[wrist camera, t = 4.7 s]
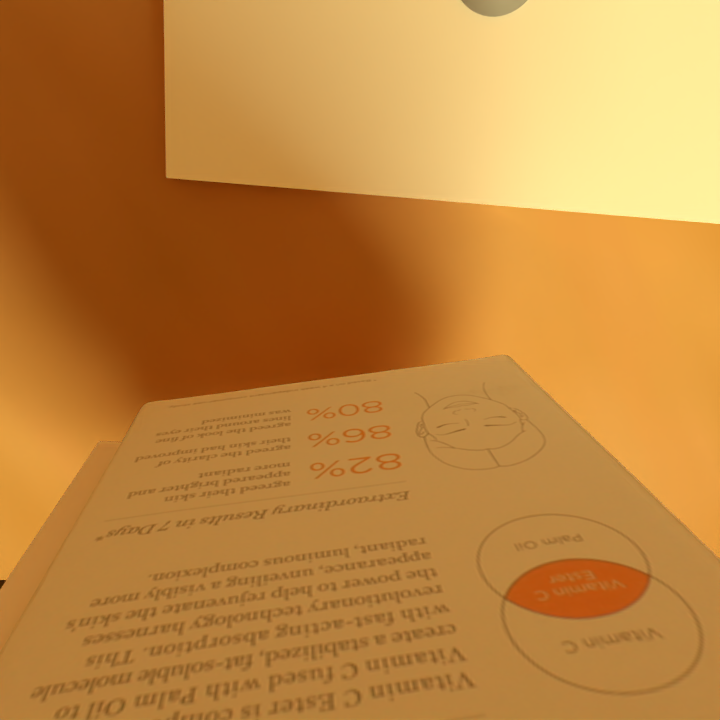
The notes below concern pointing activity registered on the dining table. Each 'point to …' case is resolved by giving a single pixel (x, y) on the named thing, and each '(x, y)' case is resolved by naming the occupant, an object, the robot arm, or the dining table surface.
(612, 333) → the dining table surface
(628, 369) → the dining table surface
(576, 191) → the paper sheet
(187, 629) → the small box
